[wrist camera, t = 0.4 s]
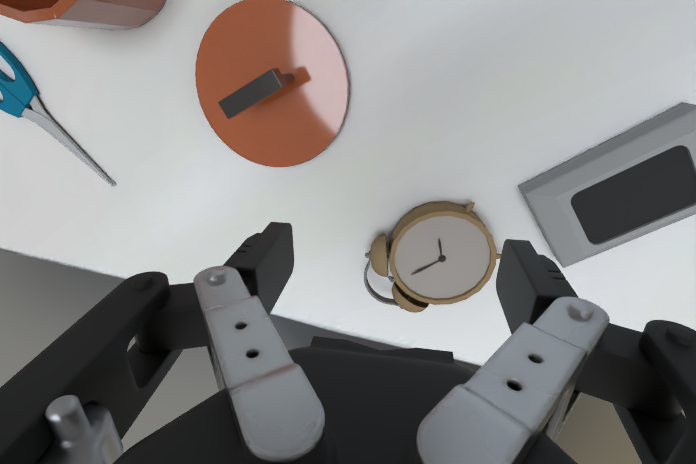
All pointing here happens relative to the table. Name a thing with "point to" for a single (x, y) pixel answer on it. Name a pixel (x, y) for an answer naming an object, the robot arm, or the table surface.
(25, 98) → the scissors
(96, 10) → the crock
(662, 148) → the grey flat box
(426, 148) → the table surface
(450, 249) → the alarm clock
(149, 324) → the robot arm
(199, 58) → the lid
